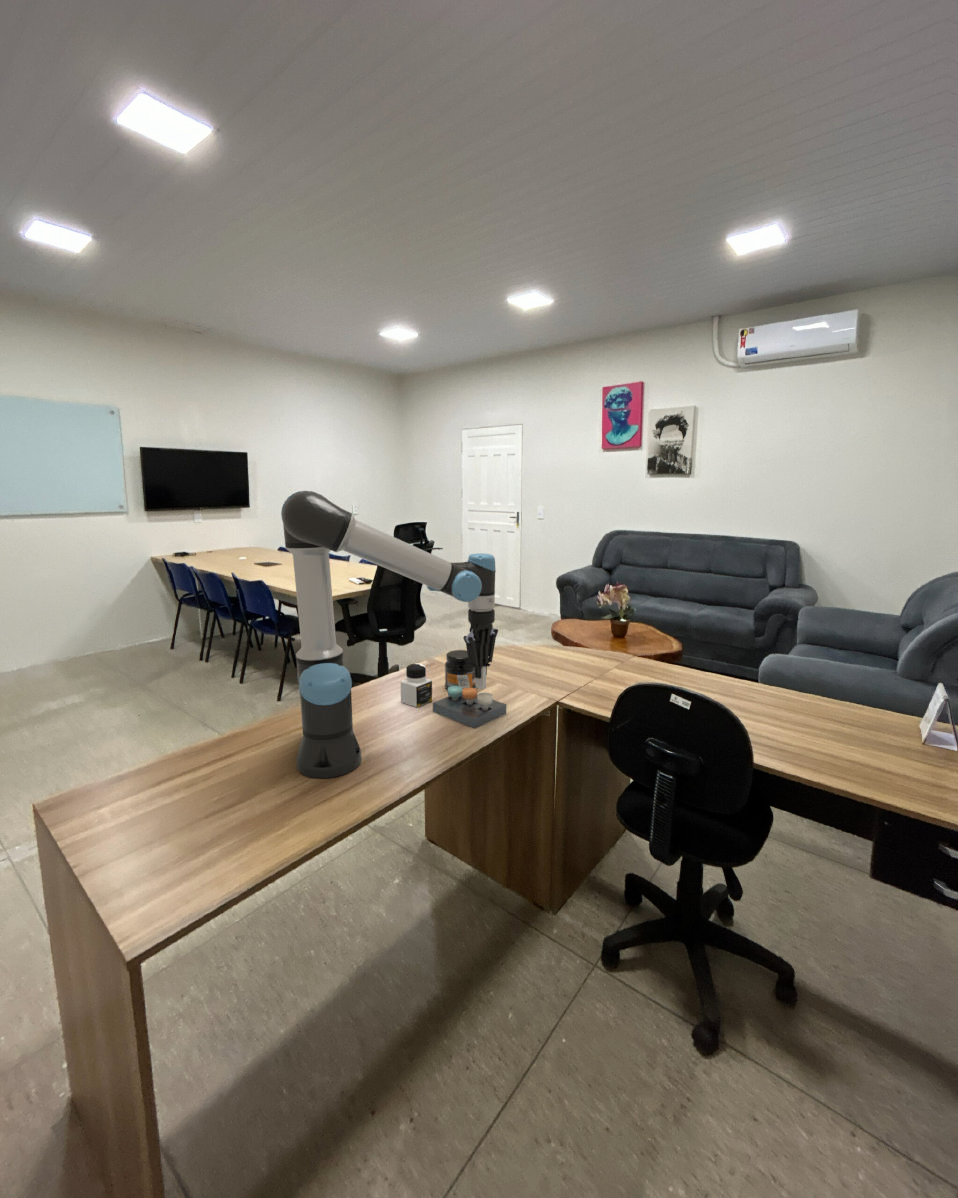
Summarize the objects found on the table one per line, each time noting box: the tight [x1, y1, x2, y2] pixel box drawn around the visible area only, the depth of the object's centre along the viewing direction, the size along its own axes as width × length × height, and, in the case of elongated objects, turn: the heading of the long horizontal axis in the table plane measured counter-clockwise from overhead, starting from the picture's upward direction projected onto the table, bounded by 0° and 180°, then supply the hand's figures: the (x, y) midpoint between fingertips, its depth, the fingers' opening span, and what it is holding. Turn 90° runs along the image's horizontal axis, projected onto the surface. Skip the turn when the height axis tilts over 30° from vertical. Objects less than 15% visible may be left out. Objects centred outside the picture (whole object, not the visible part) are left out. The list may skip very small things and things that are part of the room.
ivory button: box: [477, 692, 494, 712], centre depth 155 cm, size 4×4×5 cm
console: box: [432, 693, 507, 729], centre depth 160 cm, size 14×17×3 cm
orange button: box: [462, 687, 478, 706], centre depth 159 cm, size 4×4×5 cm
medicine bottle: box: [400, 662, 433, 708], centre depth 167 cm, size 7×7×12 cm
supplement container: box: [444, 649, 476, 690], centre depth 179 cm, size 10×10×12 cm
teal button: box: [447, 686, 462, 701], centre depth 163 cm, size 4×4×5 cm
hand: (480, 687), depth 156 cm, fingers closed
